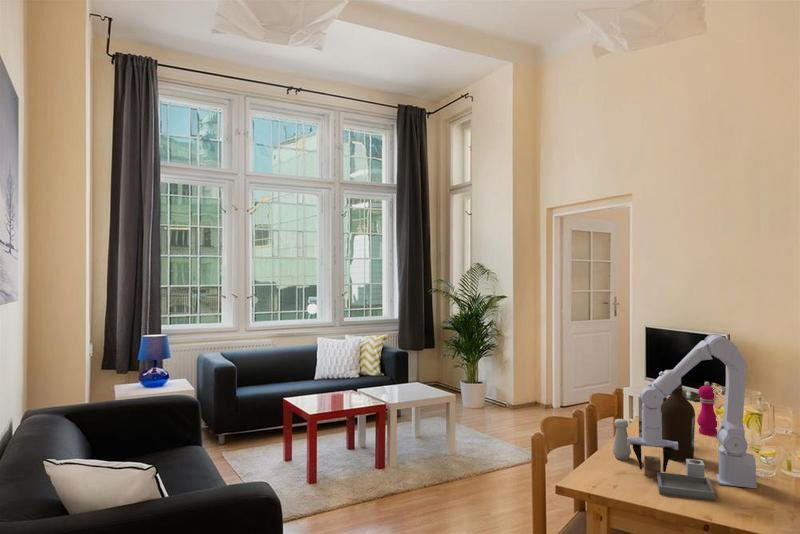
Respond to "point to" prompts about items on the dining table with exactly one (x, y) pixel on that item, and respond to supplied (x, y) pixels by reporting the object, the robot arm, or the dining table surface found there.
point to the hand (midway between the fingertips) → (652, 469)
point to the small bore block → (652, 465)
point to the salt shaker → (621, 440)
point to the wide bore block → (695, 468)
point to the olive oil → (679, 424)
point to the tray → (685, 486)
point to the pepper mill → (707, 411)
